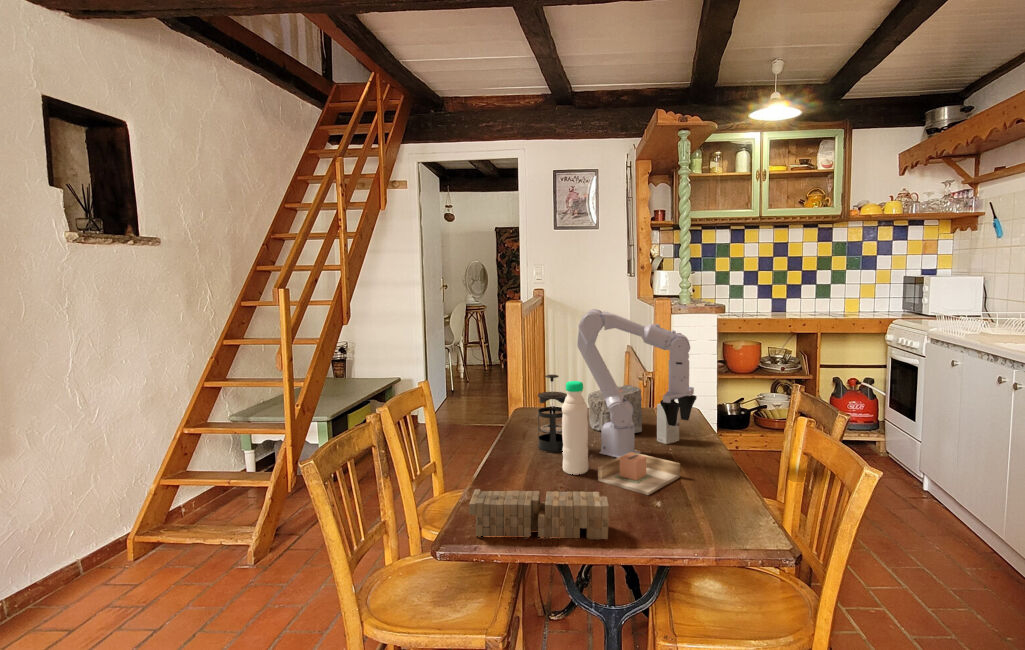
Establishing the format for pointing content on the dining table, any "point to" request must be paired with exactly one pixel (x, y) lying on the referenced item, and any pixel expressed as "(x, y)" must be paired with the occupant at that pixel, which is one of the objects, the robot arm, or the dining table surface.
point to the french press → (551, 421)
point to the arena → (656, 477)
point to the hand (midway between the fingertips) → (678, 422)
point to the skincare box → (666, 427)
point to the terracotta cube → (633, 466)
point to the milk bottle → (575, 430)
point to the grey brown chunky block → (601, 413)
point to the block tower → (540, 514)
